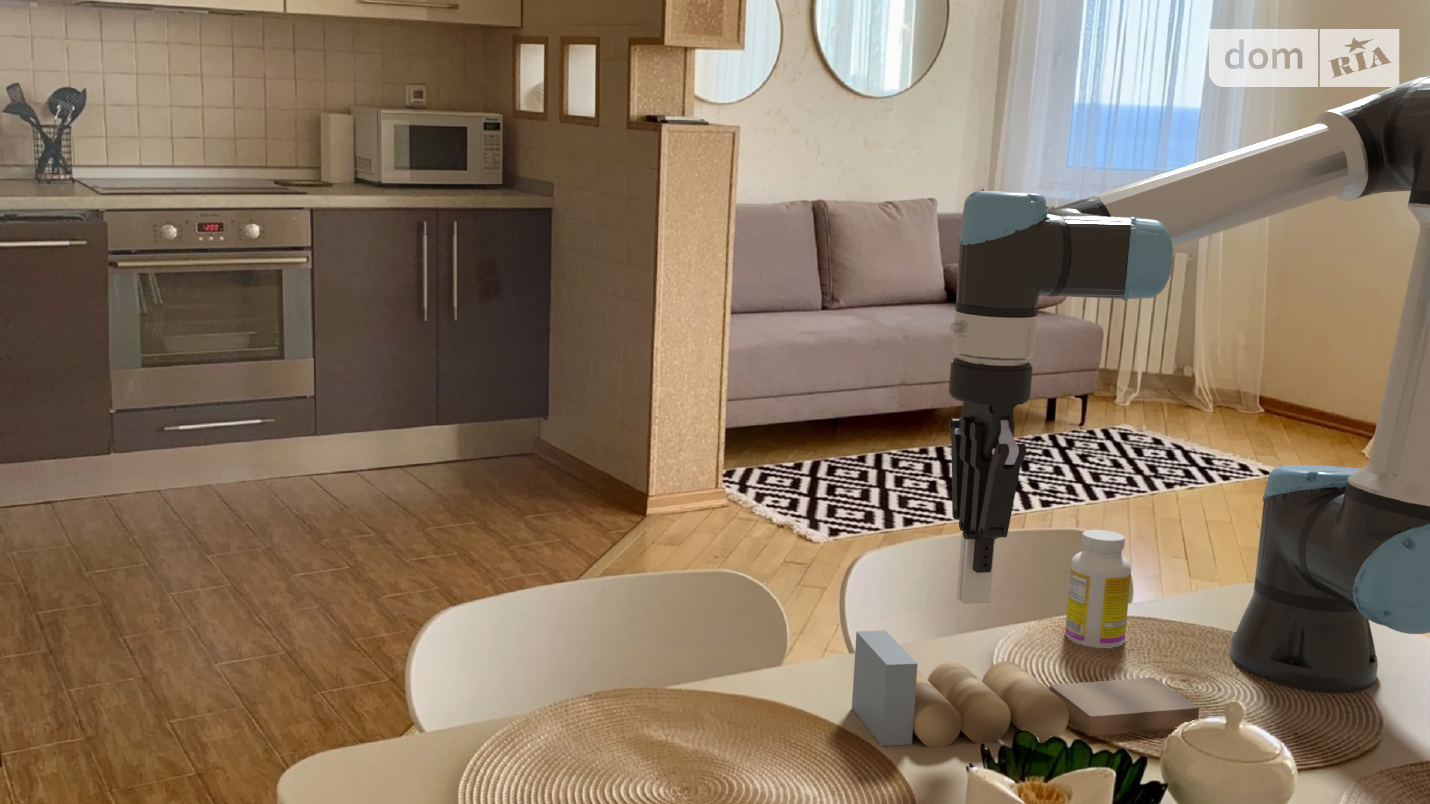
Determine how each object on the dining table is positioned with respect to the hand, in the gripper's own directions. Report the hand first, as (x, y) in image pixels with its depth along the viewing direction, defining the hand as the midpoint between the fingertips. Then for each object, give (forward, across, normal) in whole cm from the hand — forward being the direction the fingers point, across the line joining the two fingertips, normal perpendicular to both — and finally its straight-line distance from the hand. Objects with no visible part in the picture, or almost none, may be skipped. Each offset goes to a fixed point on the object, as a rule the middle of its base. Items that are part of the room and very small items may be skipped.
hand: (973, 600), depth 135 cm
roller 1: (+9, 0, -3) cm, 10 cm away
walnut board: (+13, 0, +17) cm, 21 cm away
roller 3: (+8, +1, +5) cm, 9 cm away
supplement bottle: (+13, -20, +24) cm, 33 cm away
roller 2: (+12, 0, -1) cm, 12 cm away
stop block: (+12, 0, -8) cm, 15 cm away
